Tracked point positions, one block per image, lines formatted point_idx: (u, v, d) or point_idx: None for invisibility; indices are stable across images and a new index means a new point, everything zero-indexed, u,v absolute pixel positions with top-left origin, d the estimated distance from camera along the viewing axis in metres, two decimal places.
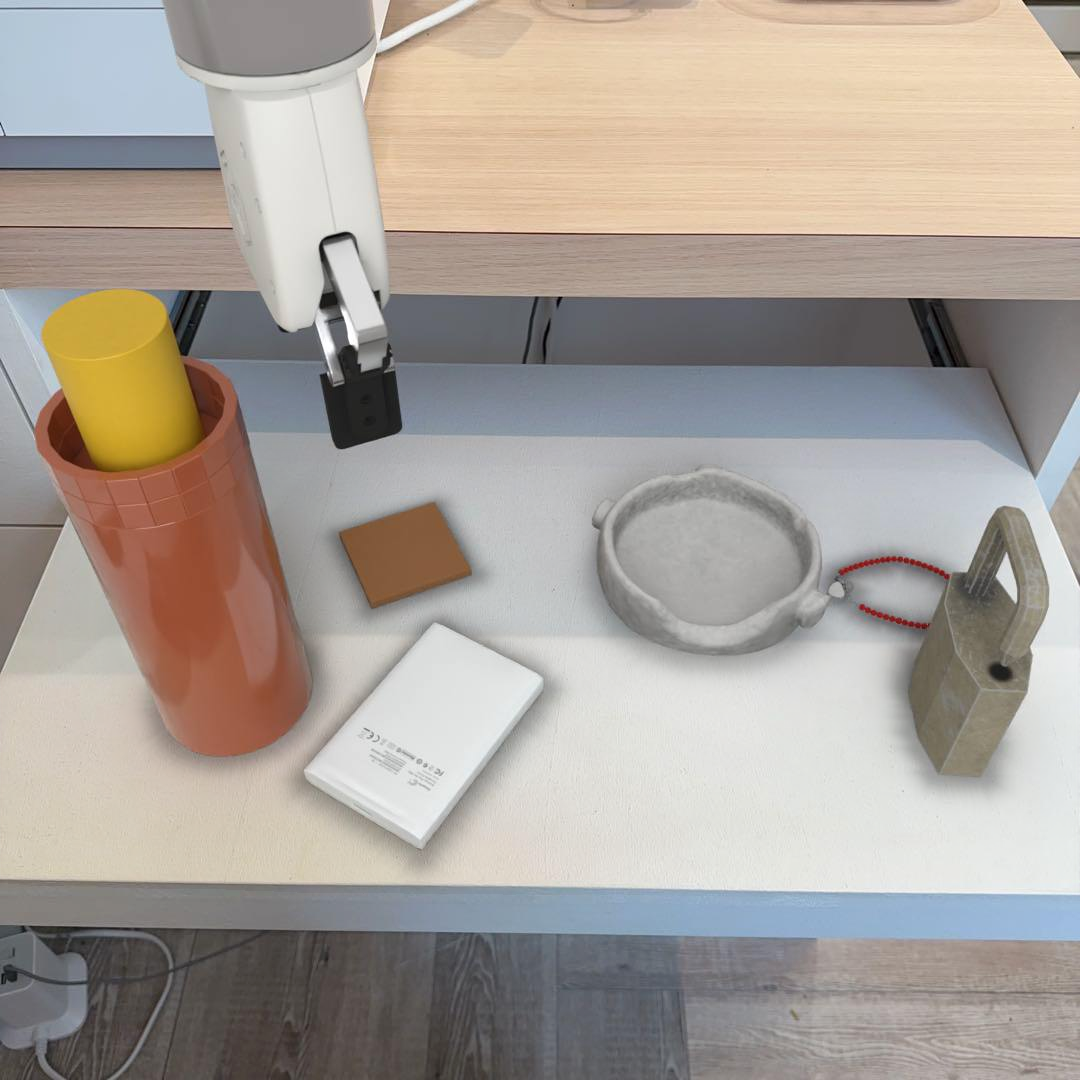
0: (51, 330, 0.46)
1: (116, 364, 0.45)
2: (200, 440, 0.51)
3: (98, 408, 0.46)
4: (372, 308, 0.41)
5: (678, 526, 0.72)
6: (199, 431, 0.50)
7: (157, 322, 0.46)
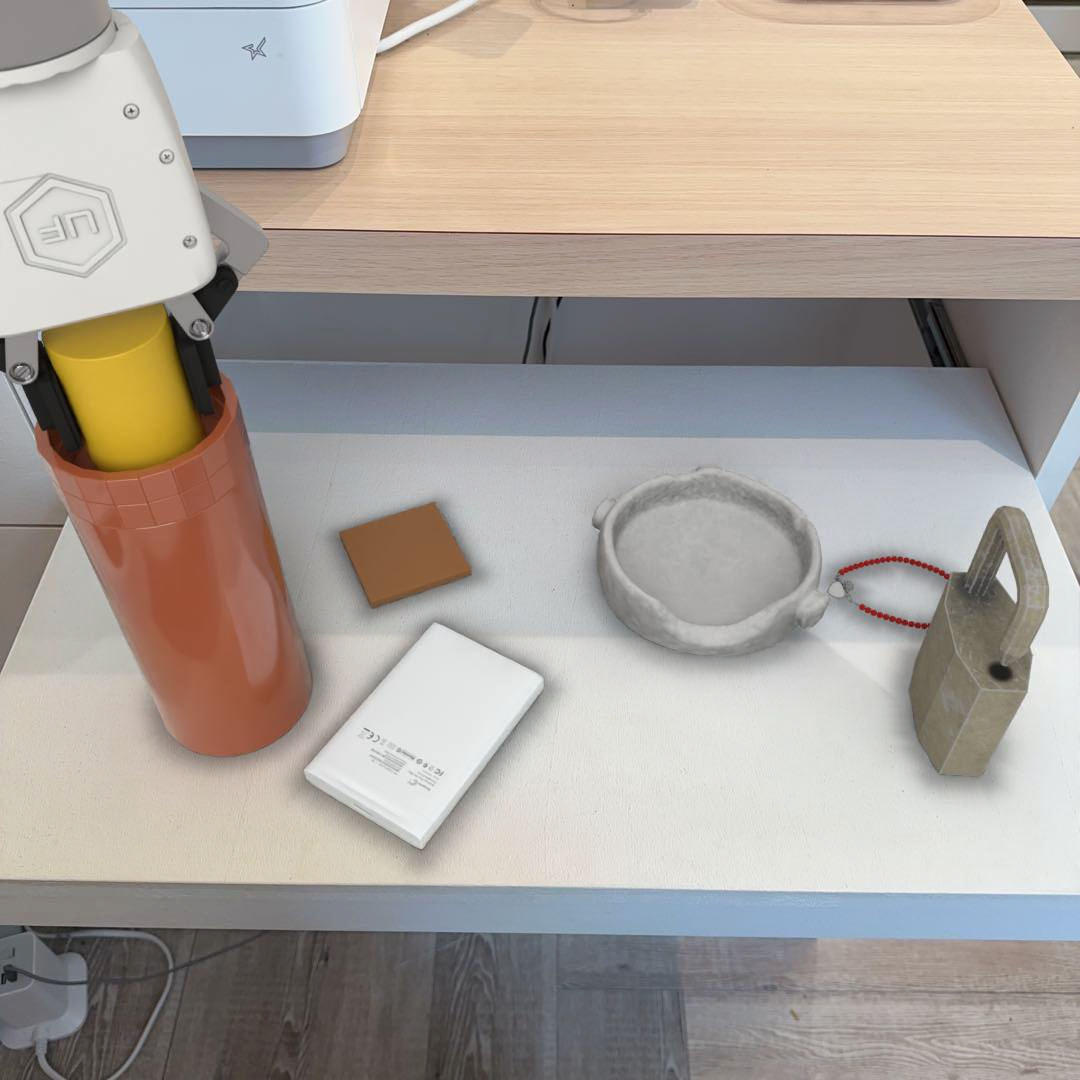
0: (51, 330, 0.46)
1: (116, 364, 0.45)
2: (200, 440, 0.51)
3: (98, 408, 0.46)
4: (247, 216, 0.46)
5: (678, 526, 0.72)
6: (199, 431, 0.50)
7: (156, 322, 0.46)
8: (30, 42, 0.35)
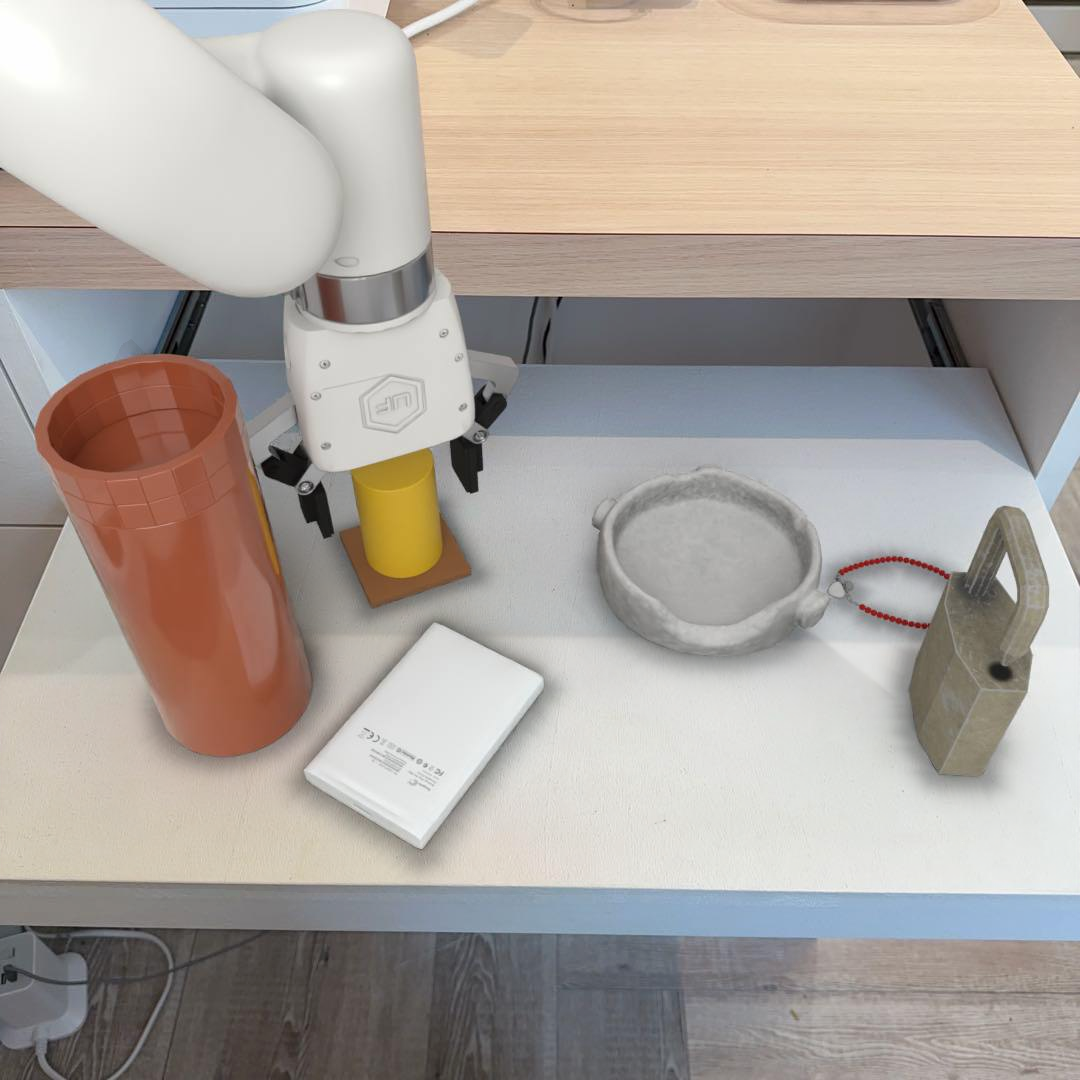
0: (357, 468, 0.67)
1: (406, 493, 0.66)
2: (441, 536, 0.72)
3: (387, 520, 0.67)
4: (501, 357, 0.65)
5: (678, 526, 0.72)
6: (440, 530, 0.71)
7: (427, 462, 0.67)
8: (401, 304, 0.55)
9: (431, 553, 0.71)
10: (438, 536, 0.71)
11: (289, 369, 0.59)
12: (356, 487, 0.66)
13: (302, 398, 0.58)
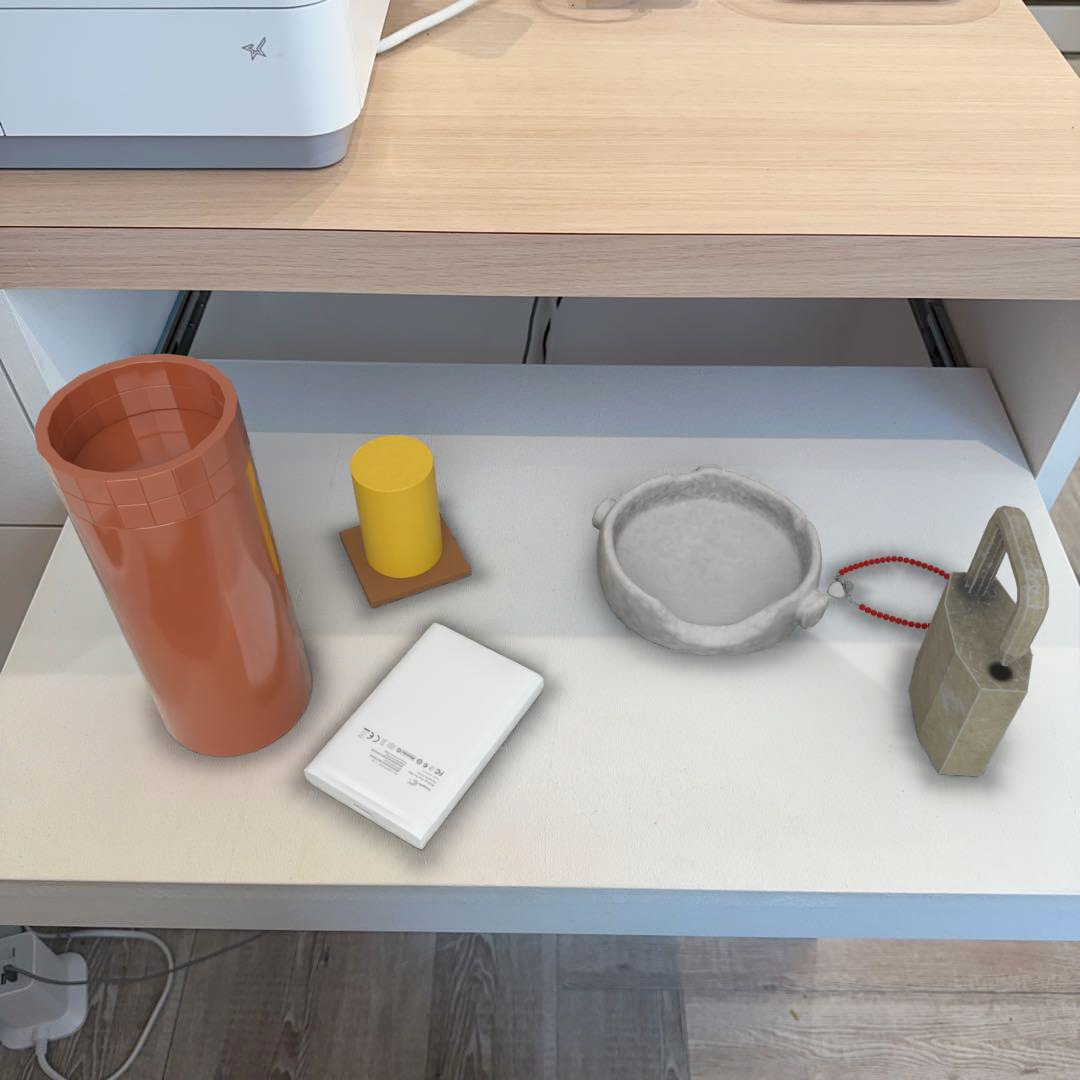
0: (357, 468, 0.67)
1: (406, 493, 0.66)
2: (441, 536, 0.72)
3: (387, 520, 0.67)
4: None
5: (678, 526, 0.72)
6: (440, 530, 0.71)
7: (427, 462, 0.67)
8: None
9: (431, 553, 0.71)
10: (438, 536, 0.71)
11: None
12: (356, 487, 0.66)
13: None
